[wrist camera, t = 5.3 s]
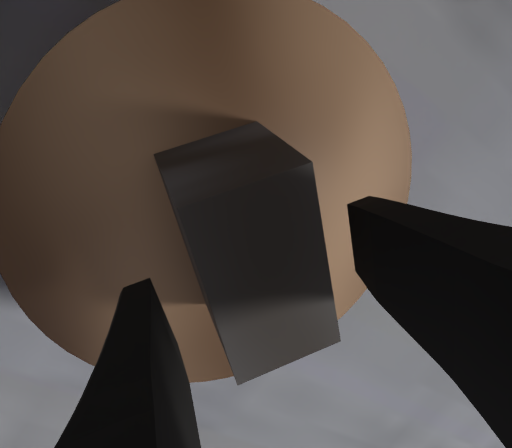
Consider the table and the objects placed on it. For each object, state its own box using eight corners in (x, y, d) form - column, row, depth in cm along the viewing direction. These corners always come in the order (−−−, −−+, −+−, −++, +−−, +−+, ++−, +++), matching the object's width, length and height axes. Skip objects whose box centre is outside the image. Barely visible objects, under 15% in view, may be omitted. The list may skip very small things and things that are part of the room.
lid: (100, 416, 15) (104, 543, 12) (-121, 55, 9) (-248, 92, 6) (403, 289, 18) (484, 364, 14) (385, -70, 11) (519, -100, 8)
